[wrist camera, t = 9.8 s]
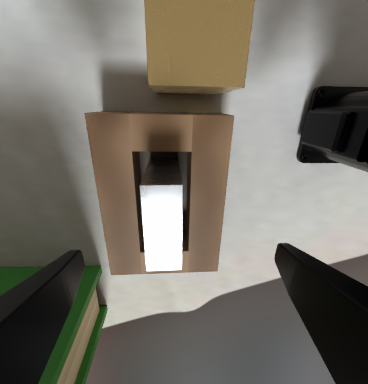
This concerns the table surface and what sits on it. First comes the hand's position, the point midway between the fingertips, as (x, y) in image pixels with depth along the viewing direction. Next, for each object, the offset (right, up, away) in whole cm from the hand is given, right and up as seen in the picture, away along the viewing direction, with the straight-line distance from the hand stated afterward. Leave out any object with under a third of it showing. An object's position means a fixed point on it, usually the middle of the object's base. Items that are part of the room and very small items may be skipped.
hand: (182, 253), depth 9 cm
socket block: (-2, +3, +11) cm, 11 cm away
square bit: (0, +13, +7) cm, 15 cm away
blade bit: (-2, +3, +10) cm, 11 cm away
